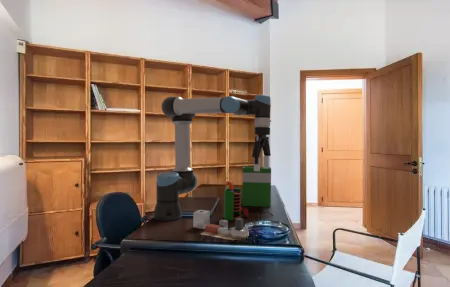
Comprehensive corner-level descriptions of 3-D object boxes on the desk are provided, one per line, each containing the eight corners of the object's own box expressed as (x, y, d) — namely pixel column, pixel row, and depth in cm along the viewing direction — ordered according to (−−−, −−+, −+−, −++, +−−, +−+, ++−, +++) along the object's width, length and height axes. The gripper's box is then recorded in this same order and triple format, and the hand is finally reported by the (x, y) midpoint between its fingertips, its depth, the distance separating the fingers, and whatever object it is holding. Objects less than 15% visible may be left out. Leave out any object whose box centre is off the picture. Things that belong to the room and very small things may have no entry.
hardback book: (269, 204, 192) (270, 167, 191) (270, 206, 184) (271, 168, 184) (242, 203, 193) (243, 166, 193) (242, 205, 186) (242, 167, 185)
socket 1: (193, 229, 137) (193, 211, 137) (199, 226, 142) (199, 209, 142) (203, 231, 135) (203, 213, 134) (209, 227, 140) (209, 210, 139)
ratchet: (202, 233, 129) (203, 216, 129) (211, 228, 136) (212, 212, 136) (244, 240, 120) (244, 222, 120) (251, 235, 127) (251, 218, 127)
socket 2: (217, 230, 133) (217, 221, 133) (221, 227, 137) (221, 219, 137) (225, 231, 132) (225, 222, 132) (229, 228, 135) (229, 220, 135)
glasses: (236, 212, 170) (236, 204, 170) (261, 210, 177) (261, 202, 176) (246, 219, 157) (247, 209, 157) (273, 216, 164) (273, 207, 163)
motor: (239, 222, 149) (239, 183, 148) (221, 221, 150) (222, 182, 150) (242, 217, 159) (242, 180, 158) (225, 216, 160) (226, 179, 160)
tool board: (200, 236, 128) (200, 234, 128) (214, 228, 139) (214, 226, 139) (251, 246, 117) (251, 243, 117) (262, 236, 129) (262, 234, 128)
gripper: (261, 125, 133) (260, 172, 133) (276, 127, 155) (276, 168, 156) (245, 125, 136) (244, 171, 137) (263, 127, 158) (262, 167, 159)
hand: (261, 169), depth 146 cm, fingers open, 13 cm apart
